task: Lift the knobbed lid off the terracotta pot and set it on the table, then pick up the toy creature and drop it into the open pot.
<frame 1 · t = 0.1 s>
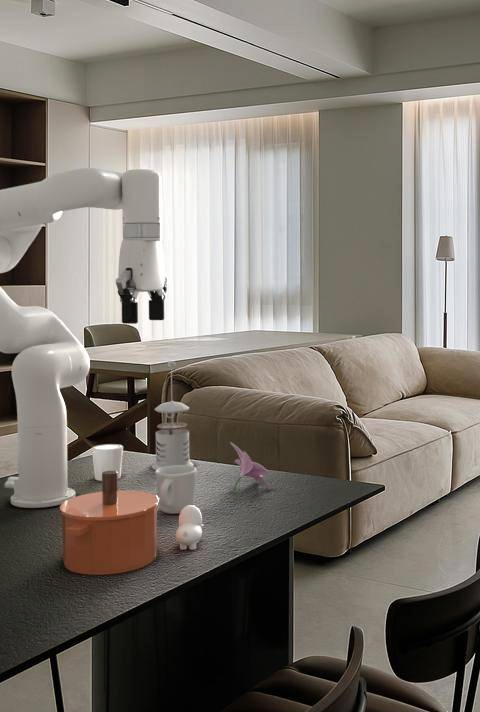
hand: (143, 321, 166), 37 cm above the table, tool pointing down, fingers open, 9 cm apart
lily: (249, 490, 181), on the table
white short tapered cylinder: (107, 478, 193), on the table
cup: (173, 513, 165), on the table
white hanging lantern: (172, 466, 204), on the table
toy creature: (189, 546, 146), on the table
lid: (110, 506, 139), point 8 cm above the table, touching pot
pot: (110, 558, 139), on the table
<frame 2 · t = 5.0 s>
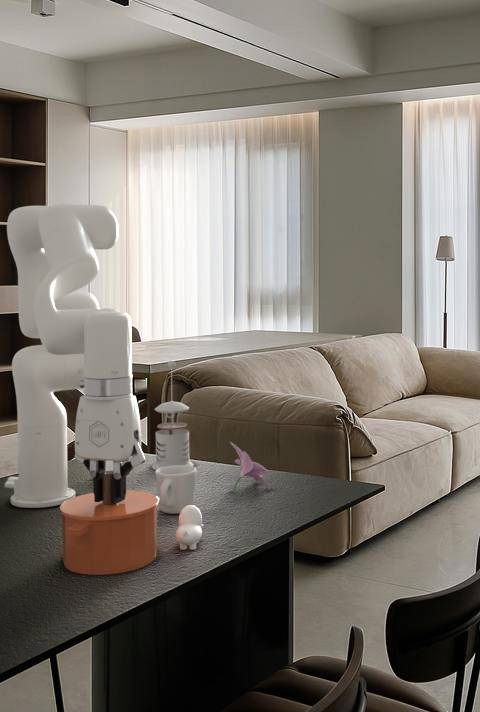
hand: (110, 499, 139), 10 cm above the table, tool pointing down, fingers closed on lid, 2 cm apart
lid: (110, 506, 139), point 9 cm above the table, touching gripper, pot
everything else where it was.
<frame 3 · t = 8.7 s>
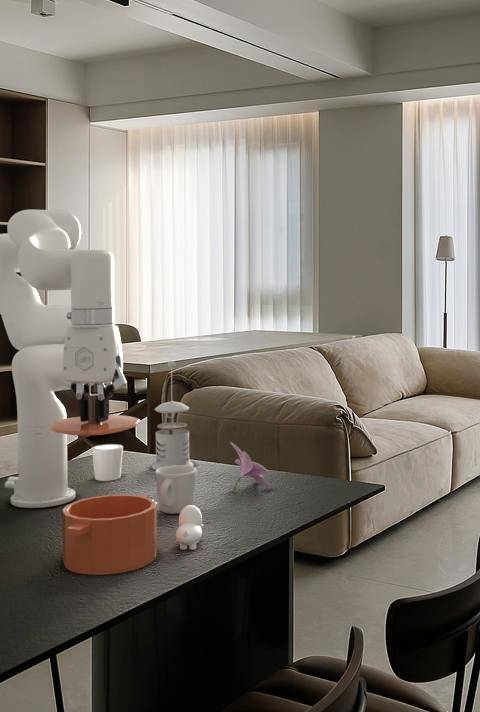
hand: (94, 420, 154), 20 cm above the table, tool pointing down, fingers closed on lid, 2 cm apart
lid: (94, 425, 154), point 19 cm above the table, touching gripper
everything else where it was.
when the fingers open (2 cm above the table, at t = 12.8 s): lid stays where it is, point 1 cm above the table.
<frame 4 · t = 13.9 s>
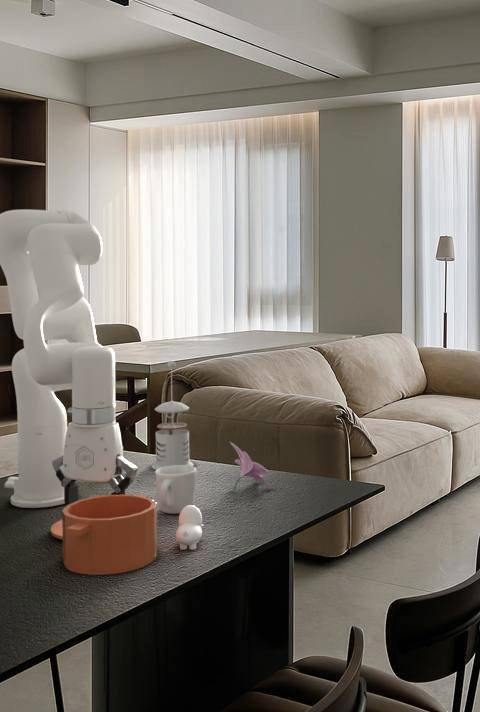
hand: (94, 510, 154), 4 cm above the table, tool pointing down, fingers open, 9 cm apart
lid: (96, 527, 154), point 1 cm above the table
everything else where it was.
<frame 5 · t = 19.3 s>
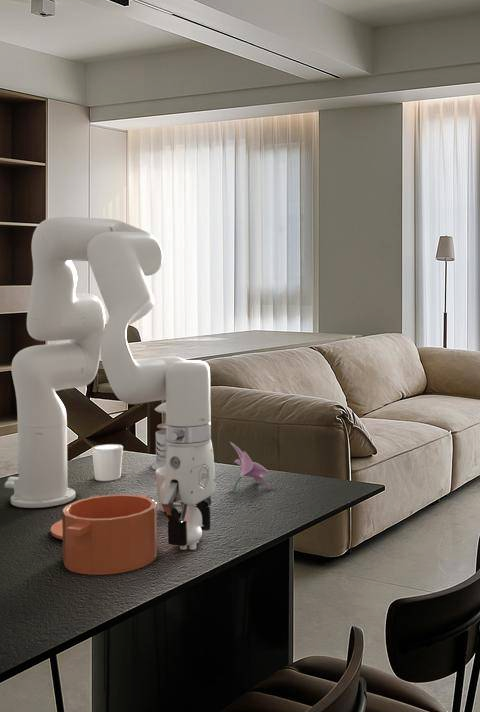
hand: (189, 536, 146), 1 cm above the table, tool pointing down, fingers closed on toy creature, 7 cm apart
toy creature: (189, 546, 146), on the table, touching gripper
everything else where it was.
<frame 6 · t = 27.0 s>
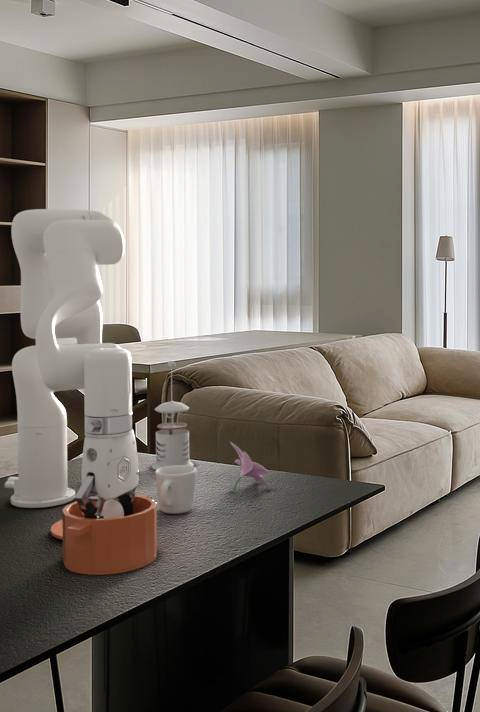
hand: (109, 531, 139), 4 cm above the table, tool pointing down, fingers closed on toy creature, 7 cm apart
toy creature: (109, 542, 139), point 3 cm above the table, touching gripper
everything else where it was.
when the fingers open (7 cm above the table, at t = 46.1 s): toy creature drops 5 cm, resting on pot.
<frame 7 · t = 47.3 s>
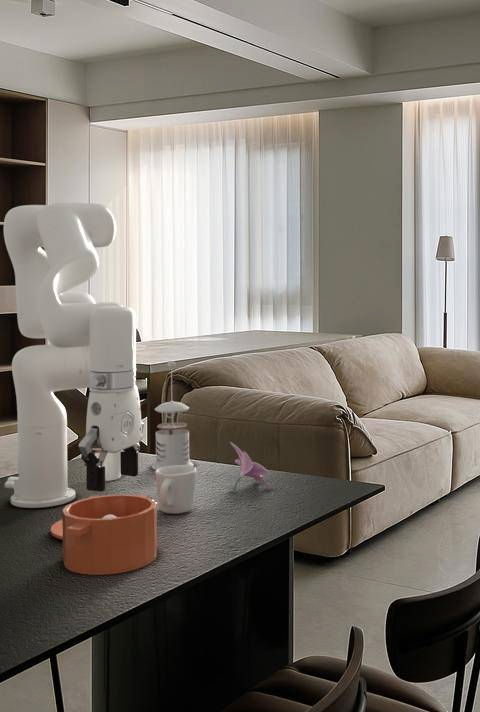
hand: (113, 482, 143), 11 cm above the table, tool pointing down, fingers open, 9 cm apart
toy creature: (110, 557, 139), resting on pot
everything else where it was.
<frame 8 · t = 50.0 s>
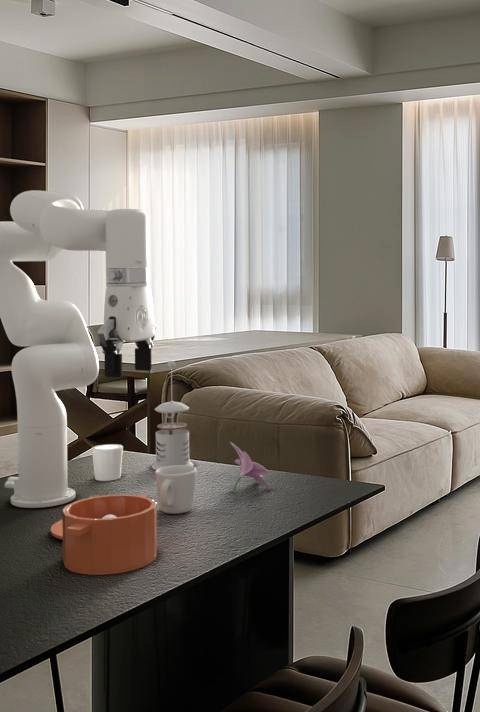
hand: (128, 373, 154), 28 cm above the table, tool pointing down, fingers open, 9 cm apart
nothing on the table moved.
at the end: toy creature inside the target area in the pot (0.3 cm from its centre), point 0.3 cm above the pot's base; lid inside the target area (0.2 cm from its centre), point 0.6 cm above the table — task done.
